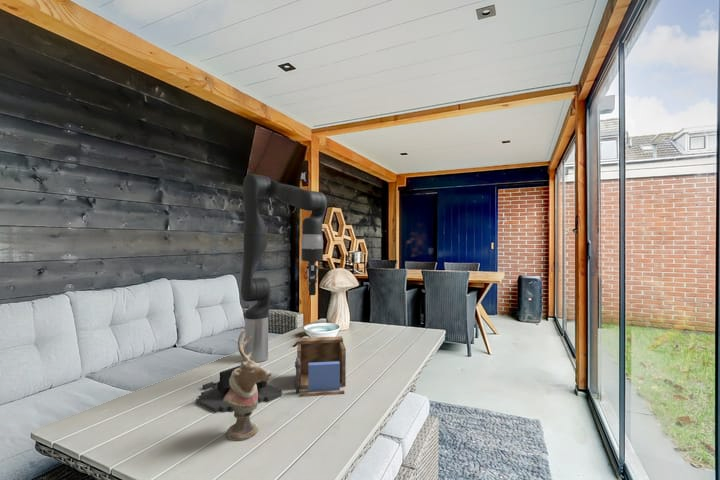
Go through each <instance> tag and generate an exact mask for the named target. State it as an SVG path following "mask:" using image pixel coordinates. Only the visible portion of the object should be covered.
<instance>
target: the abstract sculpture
mask: <svg viewBox="0 0 720 480" xmlns="http://www.w3.org/2000/svg"><path fill="white" fill-rule="evenodd" d="M239 367H240V365H237V366H235V367H231V368H228V369H225V370H222V371H219V380H218V382H213V381H211V382H208V383H205V384H202V387H201V388H202V390H204V391H202V392H200V395H198V398H196V400H195V402H196V404H197V405H199V406H200V407H202V408H205V409H207V410H208V411H210V412H213V413H214V414H216V413H218V411H219V412H222V413H225V412H226V413H227V412H228V411H230V412H234V407H233V405H232V404H230V403H227V402H224V401H223V399H224V397H225V396H226V394H227V393H228V392H229V390H230V389H231V386H230V384H229V379H230V377H231V374H232V371H233V370H235V369H237V368H239ZM256 385H257V390H258V403H263V402H266V403H269V402H272V401H274V400H276V399H279V398H280V397H282V391H283V390H282V388H280V387H276V386H274V385H271V384H268V381H263V380H262V381H260V382H257V383H256Z"/></svg>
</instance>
